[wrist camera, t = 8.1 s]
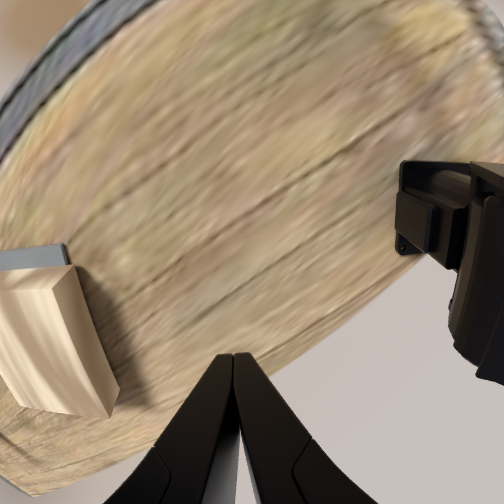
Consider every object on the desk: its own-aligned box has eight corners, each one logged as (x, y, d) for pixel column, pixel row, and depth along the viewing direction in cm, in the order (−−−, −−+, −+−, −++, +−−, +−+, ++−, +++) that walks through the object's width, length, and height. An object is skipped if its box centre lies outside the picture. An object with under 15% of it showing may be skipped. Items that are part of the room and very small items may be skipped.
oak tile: (51, 288, 17) (-40, 292, 17) (110, 418, 22) (20, 405, 21) (74, 264, 20) (-16, 272, 20) (119, 389, 25) (34, 381, 25)
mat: (62, 243, 20) (60, 245, 20) (118, 396, 26) (117, 400, 25) (-42, 257, 20) (-45, 259, 19) (16, 385, 26) (15, 388, 25)
